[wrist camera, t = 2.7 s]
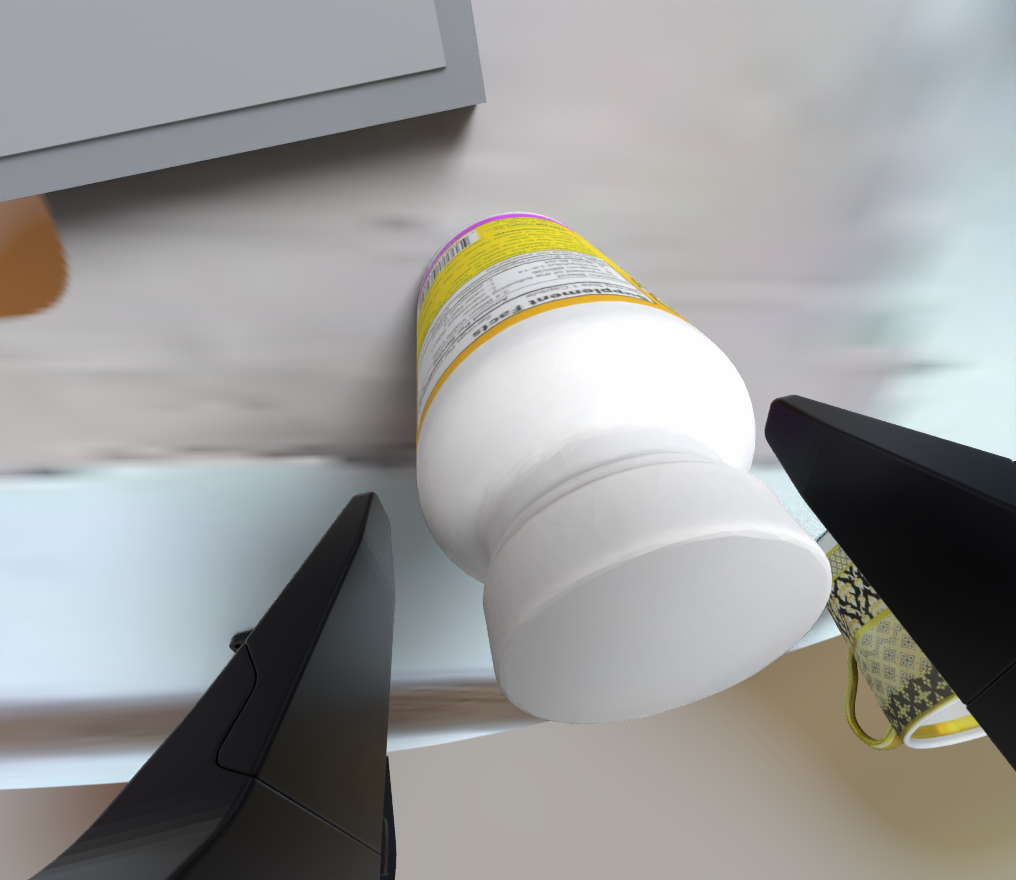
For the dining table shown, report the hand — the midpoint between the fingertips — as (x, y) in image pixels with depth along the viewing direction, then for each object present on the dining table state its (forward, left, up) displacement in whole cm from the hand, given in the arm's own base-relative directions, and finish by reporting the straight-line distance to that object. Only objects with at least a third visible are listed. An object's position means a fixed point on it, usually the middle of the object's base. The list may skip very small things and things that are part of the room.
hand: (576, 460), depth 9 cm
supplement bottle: (0, 0, -9) cm, 9 cm away
